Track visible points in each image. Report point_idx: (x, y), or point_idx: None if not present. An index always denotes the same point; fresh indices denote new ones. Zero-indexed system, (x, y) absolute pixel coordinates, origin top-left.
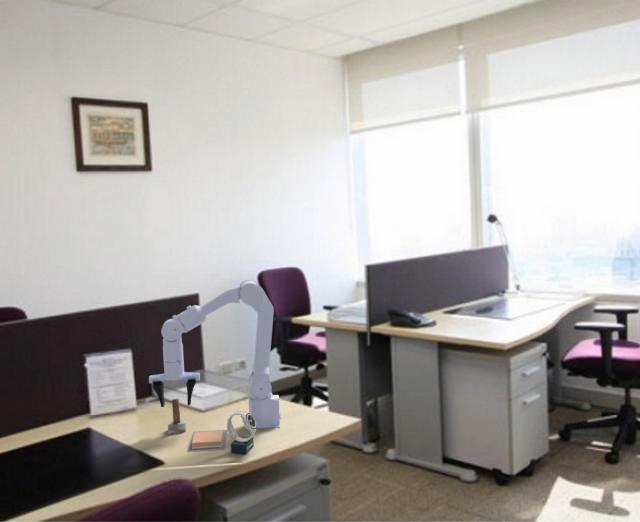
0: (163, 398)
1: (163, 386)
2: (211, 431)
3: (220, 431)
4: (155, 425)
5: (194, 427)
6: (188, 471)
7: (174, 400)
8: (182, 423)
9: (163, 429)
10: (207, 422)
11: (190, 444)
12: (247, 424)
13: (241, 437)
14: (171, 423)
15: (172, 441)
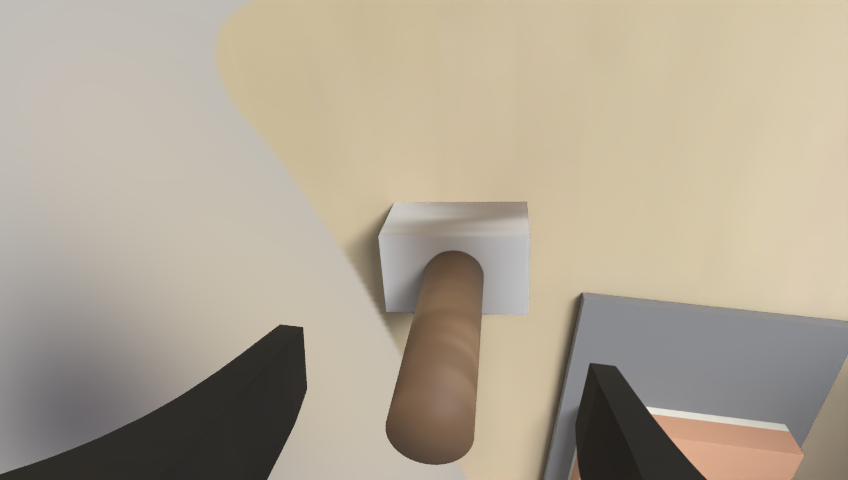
0: (267, 415)
1: (172, 474)
2: (715, 446)
3: (781, 463)
4: (257, 28)
5: (600, 167)
6: None
7: (418, 453)
8: (504, 307)
9: (345, 147)
10: (739, 64)
11: (551, 476)
12: None
13: None
14: (410, 282)
15: None
